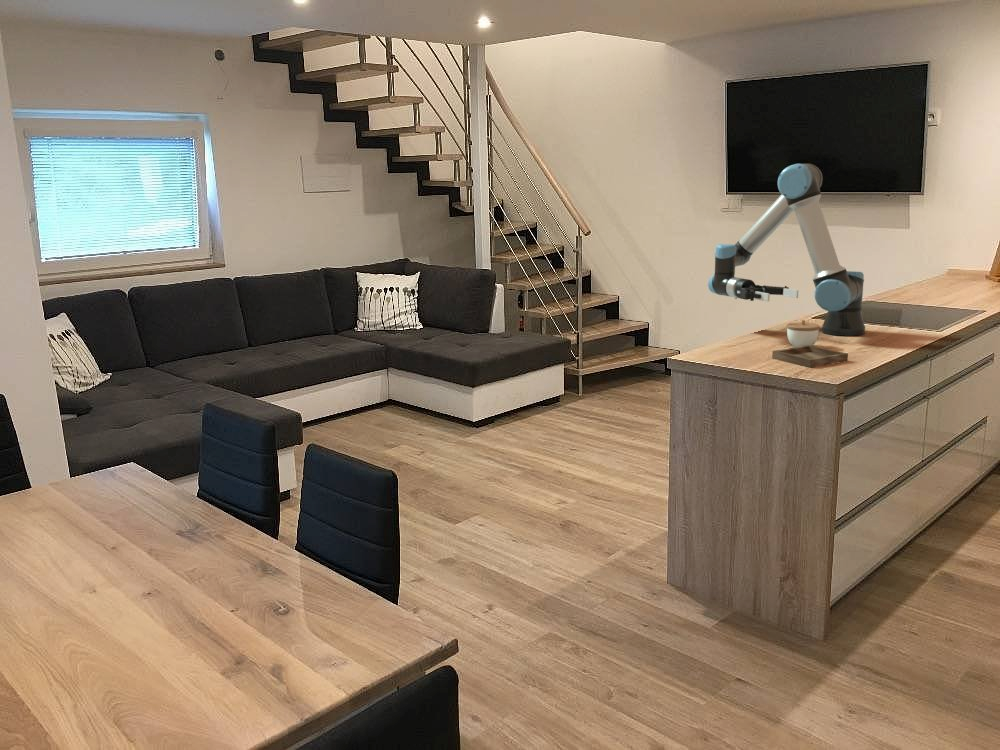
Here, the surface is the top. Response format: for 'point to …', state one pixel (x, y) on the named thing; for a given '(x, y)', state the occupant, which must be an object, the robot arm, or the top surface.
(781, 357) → the tray
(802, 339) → the lidded jar
